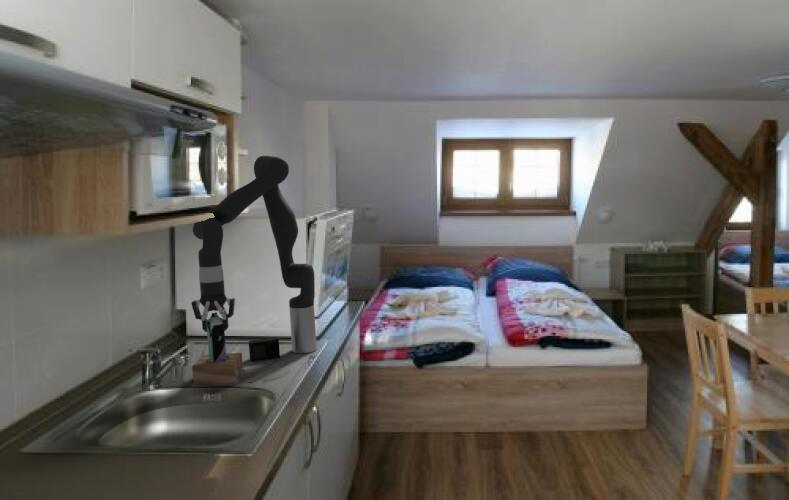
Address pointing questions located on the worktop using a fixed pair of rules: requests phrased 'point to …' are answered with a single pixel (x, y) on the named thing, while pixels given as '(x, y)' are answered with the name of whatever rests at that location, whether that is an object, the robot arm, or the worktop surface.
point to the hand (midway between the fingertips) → (215, 330)
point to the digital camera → (264, 349)
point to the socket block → (218, 371)
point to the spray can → (216, 339)
